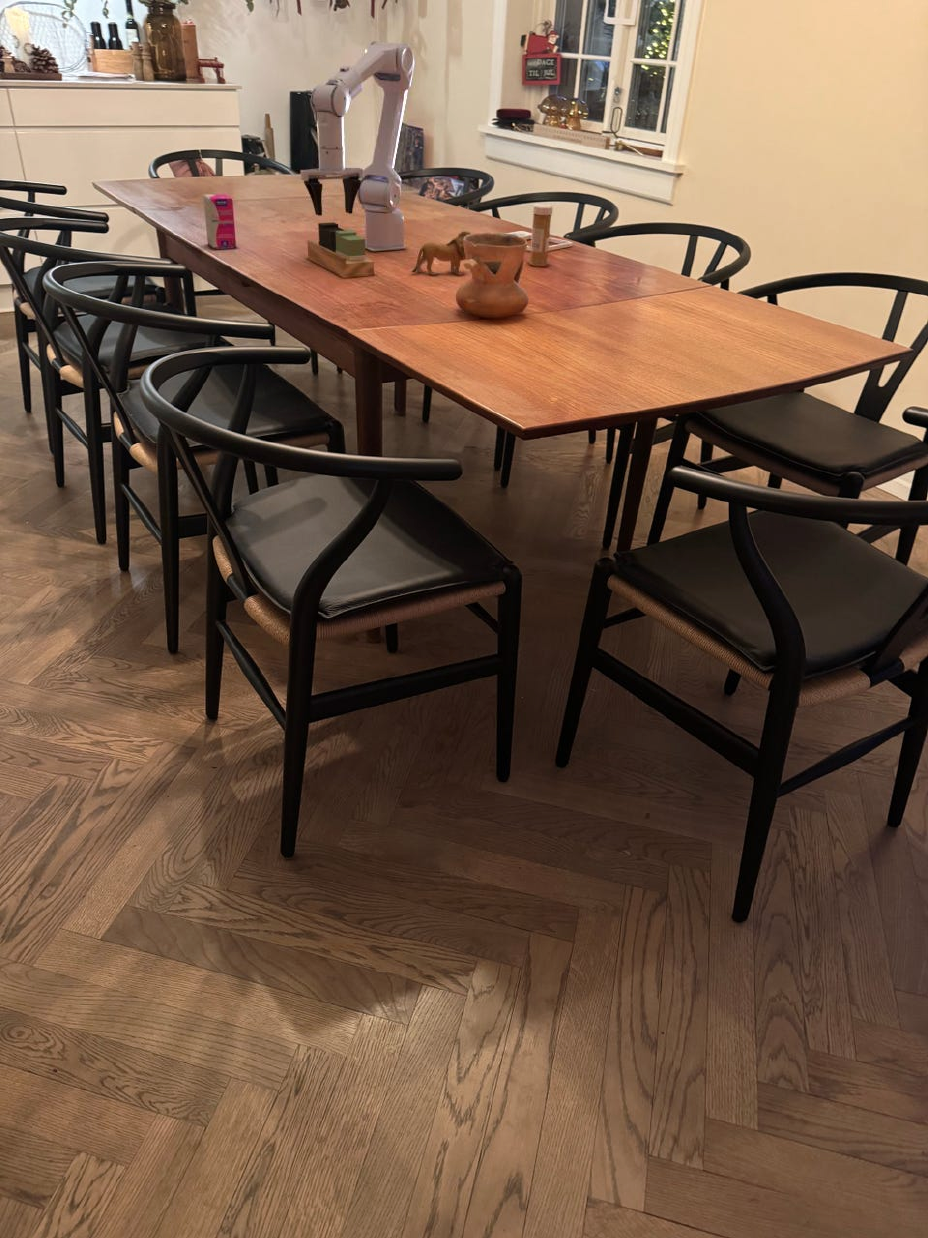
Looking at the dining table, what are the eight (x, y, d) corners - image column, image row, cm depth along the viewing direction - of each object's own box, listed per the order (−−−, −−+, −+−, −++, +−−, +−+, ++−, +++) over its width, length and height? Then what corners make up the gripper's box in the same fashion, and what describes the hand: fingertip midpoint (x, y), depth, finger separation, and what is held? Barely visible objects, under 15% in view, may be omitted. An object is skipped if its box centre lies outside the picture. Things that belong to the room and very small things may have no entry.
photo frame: (521, 229, 244) (573, 241, 234) (521, 234, 245) (572, 245, 235) (485, 236, 235) (538, 248, 225) (485, 240, 236) (537, 252, 226)
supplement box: (213, 249, 214) (208, 198, 207) (207, 244, 218) (201, 193, 212) (237, 248, 216) (232, 197, 210) (230, 243, 220) (225, 193, 214)
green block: (351, 252, 204) (350, 229, 201) (366, 259, 199) (365, 236, 196) (335, 254, 202) (334, 230, 199) (349, 261, 197) (349, 237, 194)
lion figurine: (468, 269, 208) (470, 228, 203) (476, 274, 204) (478, 233, 199) (408, 271, 204) (408, 230, 199) (415, 277, 200) (416, 234, 195)
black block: (334, 244, 211) (333, 221, 208) (347, 251, 206) (346, 227, 203) (318, 245, 209) (317, 222, 206) (331, 252, 204) (330, 229, 201)
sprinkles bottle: (551, 265, 215) (556, 205, 207) (536, 267, 213) (541, 206, 205) (539, 261, 218) (545, 202, 211) (524, 263, 216) (529, 203, 208)
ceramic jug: (493, 329, 168) (498, 250, 160) (436, 314, 176) (438, 237, 168) (547, 312, 180) (554, 237, 172) (491, 298, 187) (495, 226, 179)
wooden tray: (337, 256, 214) (336, 237, 211) (374, 275, 200) (374, 255, 198) (308, 258, 210) (307, 239, 208) (344, 278, 197) (343, 258, 194)
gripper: (308, 150, 190) (311, 218, 198) (368, 148, 197) (369, 214, 204) (295, 146, 195) (299, 213, 203) (354, 144, 202) (356, 209, 209)
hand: (333, 213), depth 204 cm, fingers open, 7 cm apart
